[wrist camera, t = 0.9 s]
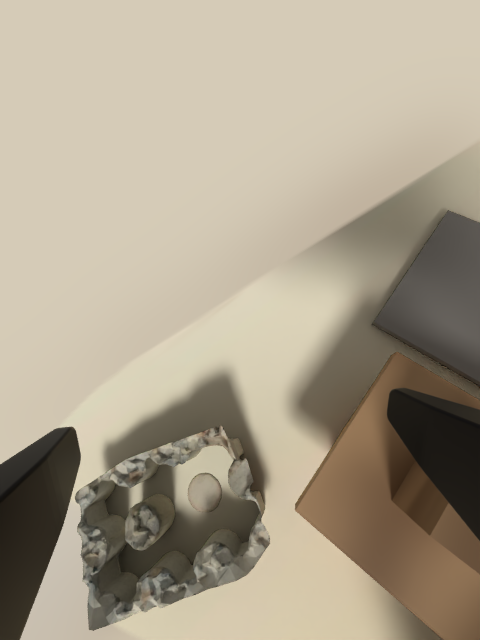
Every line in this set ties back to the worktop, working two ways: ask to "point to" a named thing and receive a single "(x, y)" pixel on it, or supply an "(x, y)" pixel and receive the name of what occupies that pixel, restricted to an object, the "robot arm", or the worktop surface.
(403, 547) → the lid
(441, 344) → the mat
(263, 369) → the worktop surface
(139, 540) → the egg carton
